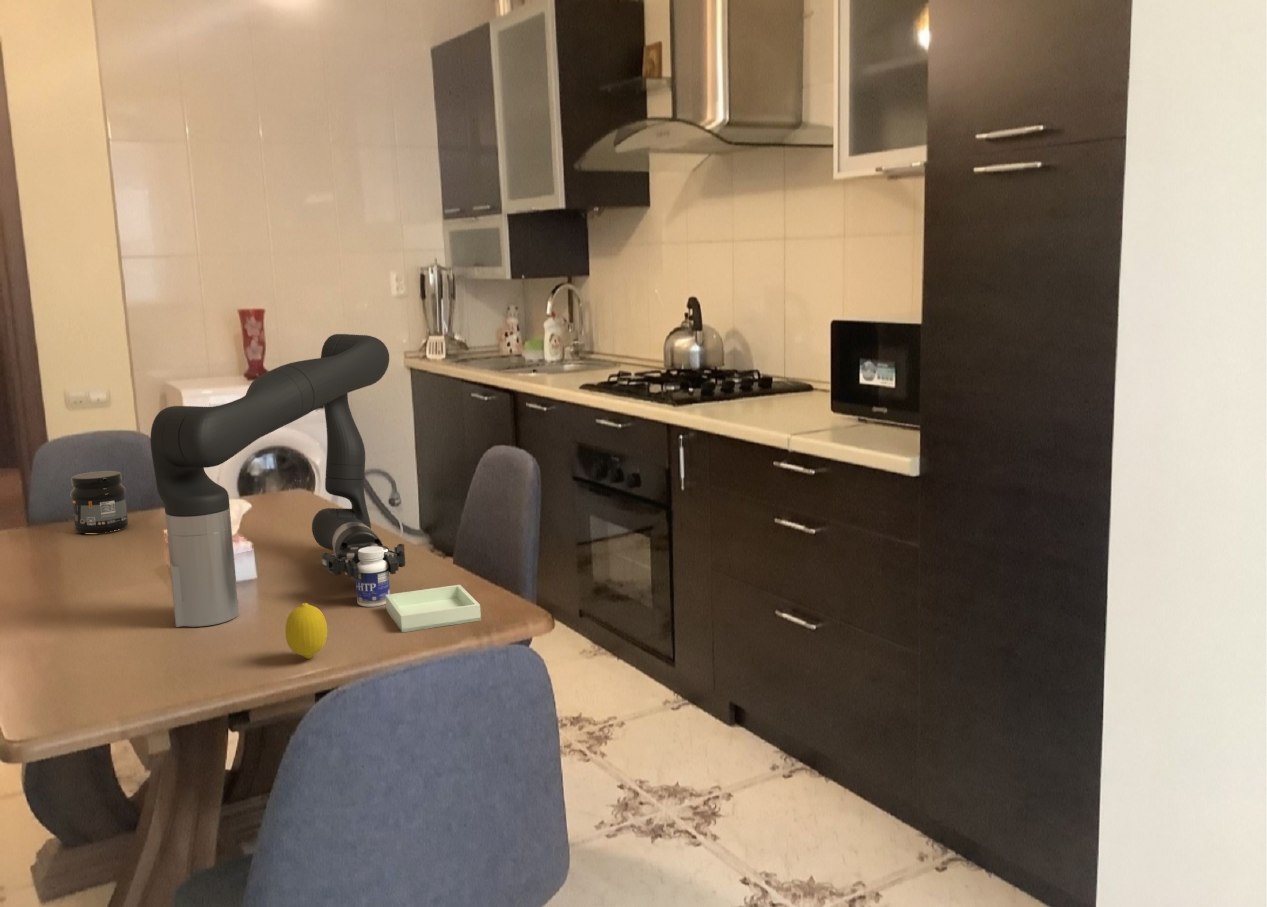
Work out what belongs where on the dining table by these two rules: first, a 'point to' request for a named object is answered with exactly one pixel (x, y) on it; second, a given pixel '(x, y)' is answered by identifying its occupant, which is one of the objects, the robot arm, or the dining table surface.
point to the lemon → (306, 630)
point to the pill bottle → (372, 577)
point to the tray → (432, 608)
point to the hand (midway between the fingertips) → (374, 570)
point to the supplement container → (98, 502)
